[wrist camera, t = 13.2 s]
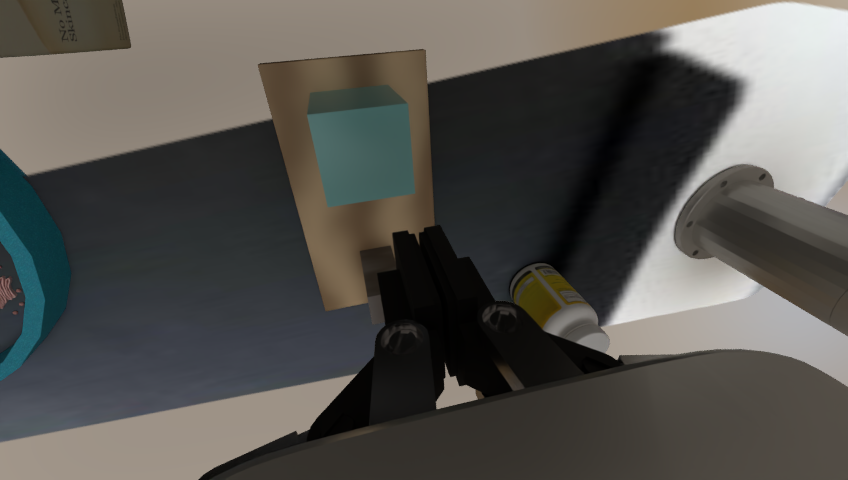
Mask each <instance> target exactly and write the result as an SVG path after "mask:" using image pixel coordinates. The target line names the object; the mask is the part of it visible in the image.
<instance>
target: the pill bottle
mask: <svg viewBox="0 0 848 480" xmlns="http://www.w3.org/2000/svg"><path fill="white" fill-rule="evenodd" d="M510 295H511V298H512V299H513V301H514V303H515V304H517V305H519V306H520V307H522V308H523V309H524V310H525V311H526V312H527V313H528V314H529V315H530V316H531V317H532V318H533V319H534V320H535V322H536V323H537V324H538V325H539V326H540V327H541V328H542V329H543V330H544V331H545V332H548V333H550V334H553V335H556V336H559V337H561V338H564V339H567V340H570V341H573V342H575V343H578V344H581V345H584V346H586V347H589V348H592V349H595V350H597V351H600V352H603V353H605V352H606V351H607V349H608V347H609V343H610V340H609V337H608V335H607V334H606V333H605V332H604V331H603V330H602V329H601V328H600V327H599V326H598V317H597V314H596V312H595V311H594V310H593V308H592V307H591V306H590V305H589V304H588V303H587V302H586V301H585V300H584V299H583V298H582V297H581V296H580V295H579V294H578V293H577V292H576V291H575V290H574V289H573V288H572V287H571V286H570V284H569V283H568V282H567V281H566V280H565V279H564V278H563V277H562V276H561V275H560V274H559V273H558V272H557V271H556V270H555V269H554V268H553V267H552V266H550V265H548V264H544V263H537V264H532V265H529V266H527V267H525V268H524V269H522V270H521V271H520V272H518V273H517V275H516V276H515V277H514V279H513V281H512V283H511V286H510Z"/></svg>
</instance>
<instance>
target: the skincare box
mask: <svg viewBox="0 0 848 480" xmlns="http://www.w3.org/2000/svg"><path fill="white" fill-rule="evenodd" d="M128 48H131V43H130V38H129V32H128V28H127V22H126V17H125V13H124V8H123V3H122V0H0V58H3V57H20V56H36V55H49V54H64V53H77V52H89V51H100V50H101V51H102V50H113V49H128Z"/></svg>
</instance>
